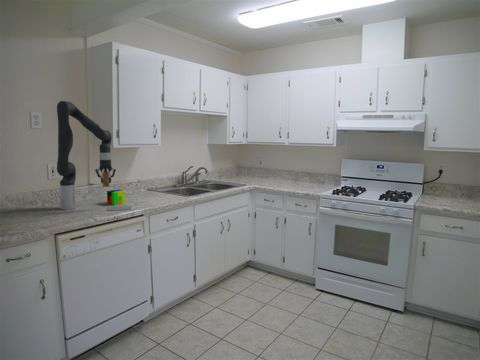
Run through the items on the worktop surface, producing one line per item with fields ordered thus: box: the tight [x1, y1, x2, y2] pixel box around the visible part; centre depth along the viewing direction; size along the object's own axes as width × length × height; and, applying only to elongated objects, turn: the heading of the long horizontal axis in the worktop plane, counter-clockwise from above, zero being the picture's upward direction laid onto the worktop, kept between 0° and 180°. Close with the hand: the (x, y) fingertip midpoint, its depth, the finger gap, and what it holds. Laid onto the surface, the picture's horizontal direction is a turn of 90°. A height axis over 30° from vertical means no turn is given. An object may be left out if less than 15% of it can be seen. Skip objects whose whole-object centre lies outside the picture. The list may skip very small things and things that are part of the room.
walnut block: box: [101, 172, 110, 188], centre depth 230 cm, size 4×4×10 cm
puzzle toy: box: [106, 189, 127, 207], centre depth 254 cm, size 10×10×10 cm
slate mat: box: [107, 205, 132, 212], centre depth 238 cm, size 16×12×1 cm
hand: (106, 183), depth 231 cm, fingers closed on walnut block, 4 cm apart
